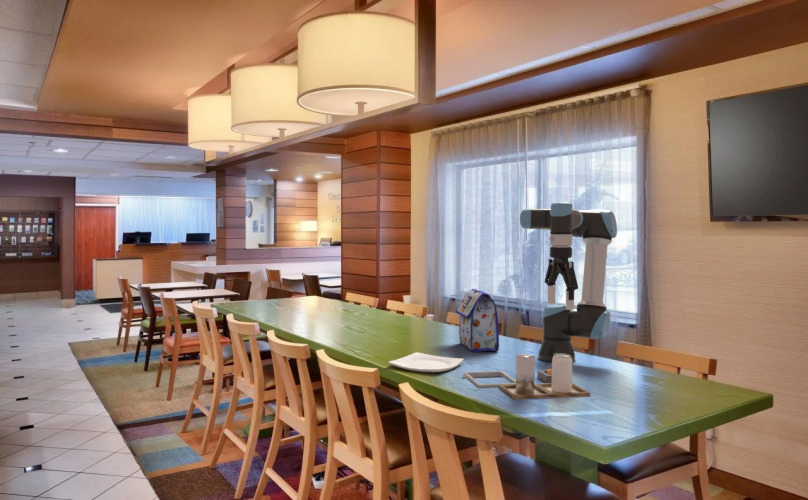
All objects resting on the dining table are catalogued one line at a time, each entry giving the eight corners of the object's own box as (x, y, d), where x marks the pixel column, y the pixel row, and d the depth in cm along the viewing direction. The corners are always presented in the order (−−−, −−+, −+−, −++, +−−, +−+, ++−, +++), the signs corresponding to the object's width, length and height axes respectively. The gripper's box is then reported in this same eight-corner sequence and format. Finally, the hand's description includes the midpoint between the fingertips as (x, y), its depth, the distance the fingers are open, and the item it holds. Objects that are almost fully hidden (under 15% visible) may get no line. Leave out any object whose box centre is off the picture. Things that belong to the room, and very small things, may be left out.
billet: (529, 389, 188) (530, 353, 187) (537, 394, 182) (538, 357, 182) (512, 390, 187) (513, 354, 186) (519, 395, 181) (520, 358, 180)
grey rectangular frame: (502, 375, 210) (502, 370, 210) (520, 388, 192) (521, 383, 192) (463, 377, 207) (463, 372, 207) (478, 390, 190) (479, 385, 190)
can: (572, 394, 183) (573, 357, 183) (551, 392, 184) (552, 356, 184) (570, 389, 189) (571, 353, 189) (551, 387, 191) (551, 352, 190)
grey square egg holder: (558, 379, 206) (558, 369, 206) (568, 385, 198) (568, 375, 198) (537, 380, 204) (537, 370, 204) (547, 386, 196) (547, 376, 196)
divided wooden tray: (570, 388, 194) (570, 382, 194) (589, 398, 182) (589, 392, 181) (498, 390, 189) (499, 385, 189) (513, 402, 177) (513, 395, 177)
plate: (439, 377, 207) (439, 370, 207) (383, 368, 220) (383, 361, 220) (467, 365, 228) (467, 358, 228) (415, 357, 241) (415, 351, 241)
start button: (555, 379, 203) (555, 368, 203) (560, 382, 199) (560, 371, 199) (545, 380, 203) (545, 368, 203) (549, 382, 199) (550, 371, 199)
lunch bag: (453, 343, 272) (454, 288, 272) (486, 342, 275) (487, 288, 274) (466, 353, 250) (467, 292, 249) (501, 352, 253) (503, 292, 252)
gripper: (535, 245, 210) (535, 301, 211) (568, 248, 185) (567, 312, 187) (554, 244, 211) (553, 300, 212) (589, 248, 187) (588, 311, 188)
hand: (560, 306), depth 199 cm, fingers open, 13 cm apart
